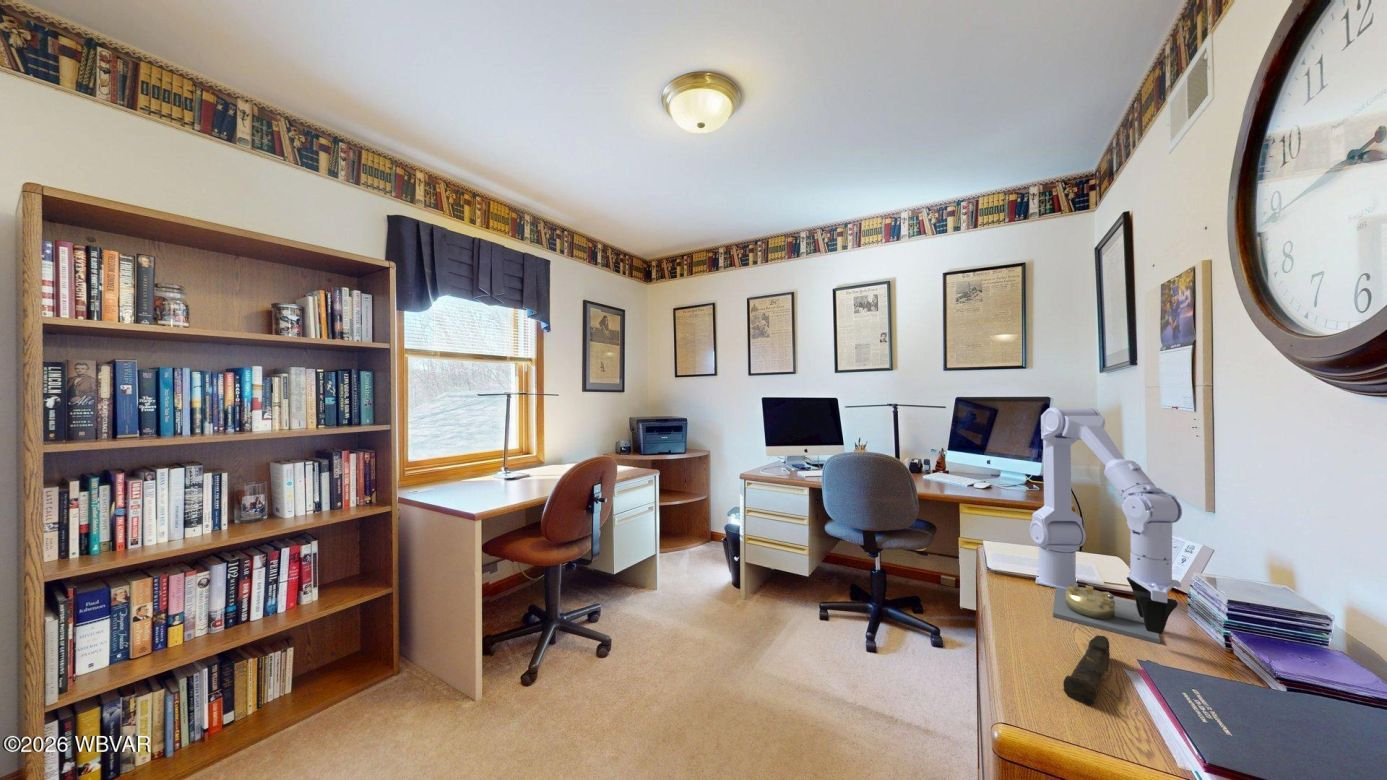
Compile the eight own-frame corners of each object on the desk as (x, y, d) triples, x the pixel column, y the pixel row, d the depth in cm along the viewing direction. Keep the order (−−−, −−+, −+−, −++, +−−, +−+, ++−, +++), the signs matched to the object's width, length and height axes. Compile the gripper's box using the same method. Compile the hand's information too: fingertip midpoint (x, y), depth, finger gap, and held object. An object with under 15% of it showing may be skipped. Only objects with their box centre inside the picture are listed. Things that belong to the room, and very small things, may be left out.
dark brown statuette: (1095, 711, 70) (1095, 681, 70) (1062, 697, 73) (1062, 668, 73) (1125, 665, 82) (1125, 639, 81) (1095, 654, 85) (1096, 629, 85)
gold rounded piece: (1065, 610, 98) (1065, 592, 98) (1065, 596, 104) (1065, 579, 104) (1158, 632, 89) (1159, 612, 89) (1152, 616, 95) (1152, 597, 95)
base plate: (1055, 590, 110) (1055, 586, 110) (1149, 611, 100) (1149, 607, 100) (1053, 616, 98) (1053, 612, 98) (1159, 643, 87) (1159, 639, 87)
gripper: (1191, 572, 81) (1191, 649, 81) (1170, 547, 93) (1169, 614, 93) (1136, 563, 85) (1136, 636, 85) (1122, 541, 97) (1122, 605, 97)
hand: (1150, 624), depth 89 cm, fingers open, 6 cm apart
